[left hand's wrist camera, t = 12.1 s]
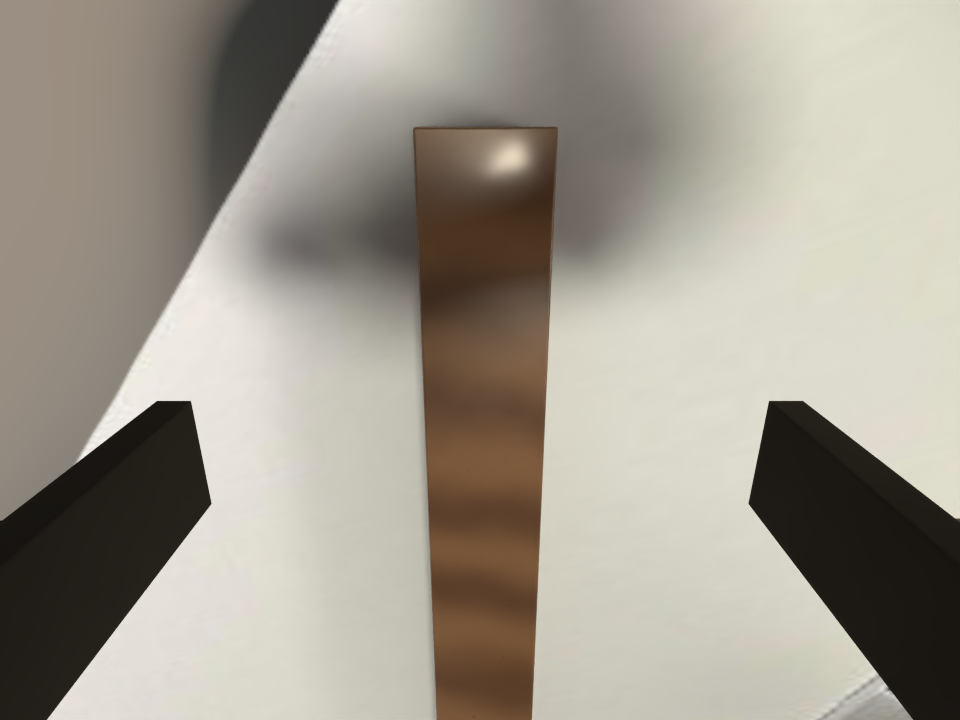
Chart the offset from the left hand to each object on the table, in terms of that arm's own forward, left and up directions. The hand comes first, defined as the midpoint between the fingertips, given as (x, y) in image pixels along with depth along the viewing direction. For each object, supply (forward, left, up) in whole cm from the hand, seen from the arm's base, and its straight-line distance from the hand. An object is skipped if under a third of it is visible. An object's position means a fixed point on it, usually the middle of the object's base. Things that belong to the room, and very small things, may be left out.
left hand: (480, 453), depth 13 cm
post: (+27, +20, -20) cm, 39 cm away
